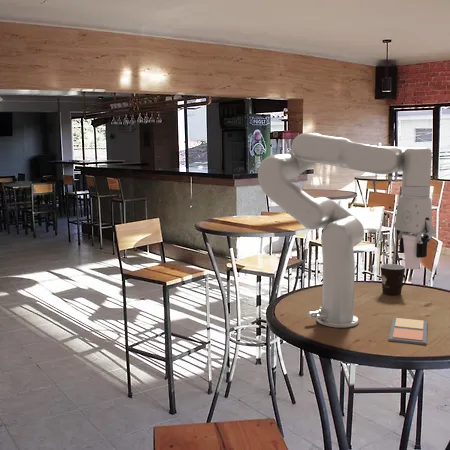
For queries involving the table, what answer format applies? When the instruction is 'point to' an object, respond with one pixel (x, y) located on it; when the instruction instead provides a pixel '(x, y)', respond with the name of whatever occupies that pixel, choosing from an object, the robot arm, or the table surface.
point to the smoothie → (411, 250)
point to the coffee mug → (392, 279)
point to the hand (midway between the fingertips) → (412, 254)
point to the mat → (408, 331)
